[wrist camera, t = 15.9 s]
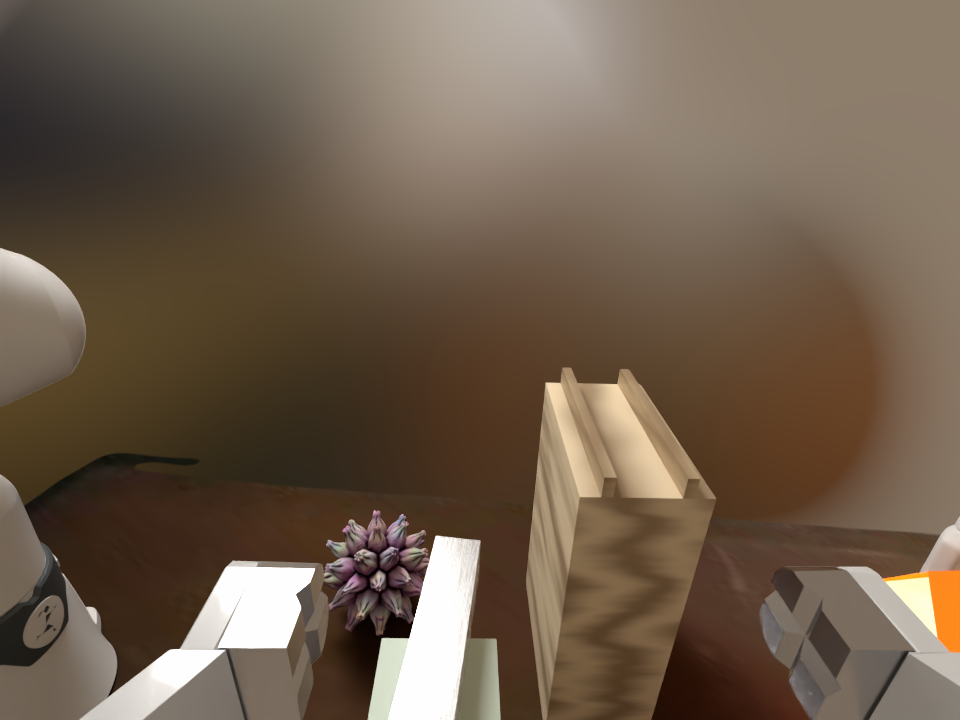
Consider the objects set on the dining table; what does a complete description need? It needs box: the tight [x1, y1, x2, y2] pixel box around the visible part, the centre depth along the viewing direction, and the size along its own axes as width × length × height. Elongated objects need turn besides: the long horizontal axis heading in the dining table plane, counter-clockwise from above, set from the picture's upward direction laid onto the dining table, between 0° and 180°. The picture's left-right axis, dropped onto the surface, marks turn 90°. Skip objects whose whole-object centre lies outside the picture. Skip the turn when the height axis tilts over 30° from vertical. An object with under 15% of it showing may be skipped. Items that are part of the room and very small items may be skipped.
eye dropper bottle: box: [920, 517, 960, 573], centre depth 57 cm, size 4×6×12 cm
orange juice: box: [883, 571, 960, 653], centre depth 40 cm, size 8×9×20 cm
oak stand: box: [526, 368, 716, 720], centre depth 45 cm, size 9×16×28 cm, turn 1°
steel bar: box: [389, 536, 480, 720], centre depth 29 cm, size 4×24×4 cm
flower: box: [323, 510, 430, 636], centre depth 51 cm, size 12×12×12 cm
